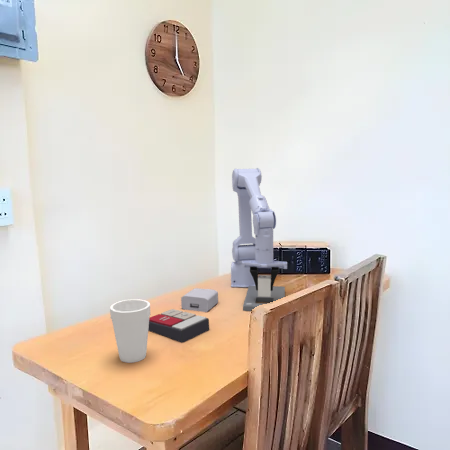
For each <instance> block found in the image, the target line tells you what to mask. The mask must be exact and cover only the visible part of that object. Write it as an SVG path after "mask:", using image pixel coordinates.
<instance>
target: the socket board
mask: <svg viewBox="0 0 450 450" xmlns="http://www.w3.org/2000/svg"><path fill="white" fill-rule="evenodd" d="M285 290H286V286H280V285H279V286H277V285H276V286H274V285H273V291H271V297H259V296H258V290H256V286H249V287H247V290H246V291H247V292H246V295H245V298H244V300H243V303H242V311H243V312H252V311H251V310H252V309H254V308H255V307H257V306H259V305H262V304H265V303H273V301H276V300H278V299H281V298H283V297H286V295H285V294H286V291H285Z"/></svg>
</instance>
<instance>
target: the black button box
mask: <svg viewBox="0 0 450 450" xmlns="http://www.w3.org/2000/svg"><path fill="white" fill-rule="evenodd" d="M208 331H210V319H209V318H208V317H206V316H202V315H196V313H192V312H187V311H183V310H180V309H175V308H171V309H167V310H166V311H163V312H161V313H158V314H156V315H153V316H150V317H149V328H148V332H151V333H153V334H157V335H160V336H162V337H166V338H170V339H171V340H173V341H176V342H178V343H181V344H184V343H185V342H188V341H190V340H192V339H194V338H196V337H198V336H200V335H202V334H204V333H207V332H208Z"/></svg>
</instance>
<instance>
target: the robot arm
mask: <svg viewBox="0 0 450 450" xmlns="http://www.w3.org/2000/svg"><path fill="white" fill-rule="evenodd" d="M262 177H263V175H262V171H261V169H260V168H259V167H256V168H234V169H233V170H232V174H231V182H232V183H231V185H232V186H231V187H232V191H233V192H235V193H236V194H237V198H238V199H237V201H238V202H237V203H238V224H239V225H238V226H239V227H238V228H239V236H237V238H235V239H234V240H233V241H232V249H231V254H232V259H233V261H231V266H230V282H231V283H230V287H231V288H248V287H249V286H256V290H258V276H259V269H270V275H271V291H273V286H274V285H275V281H276V278H277V275H278V274H279V272H280V269H284V270H287V269H288V262H287V261H279V260H274V229H275V228H276V226H277V217H276V213H275V210H273V209H272V208H270V207H269V203H268V201H267V199H266V197H265V196H264V195H262V193H261V188H260V186H261V183H262ZM253 233H254V235H255V236H253Z"/></svg>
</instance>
